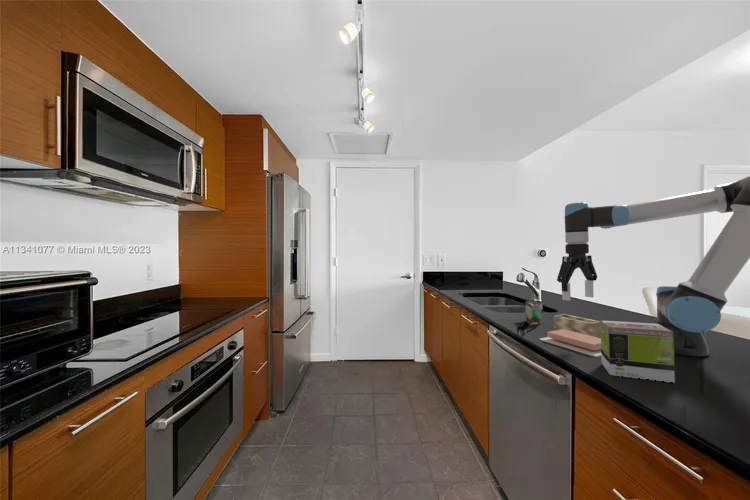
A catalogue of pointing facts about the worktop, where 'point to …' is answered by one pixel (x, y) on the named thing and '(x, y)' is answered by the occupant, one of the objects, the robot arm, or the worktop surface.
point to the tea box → (638, 350)
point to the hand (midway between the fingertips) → (578, 298)
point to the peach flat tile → (576, 339)
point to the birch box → (578, 325)
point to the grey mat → (573, 347)
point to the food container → (533, 313)
